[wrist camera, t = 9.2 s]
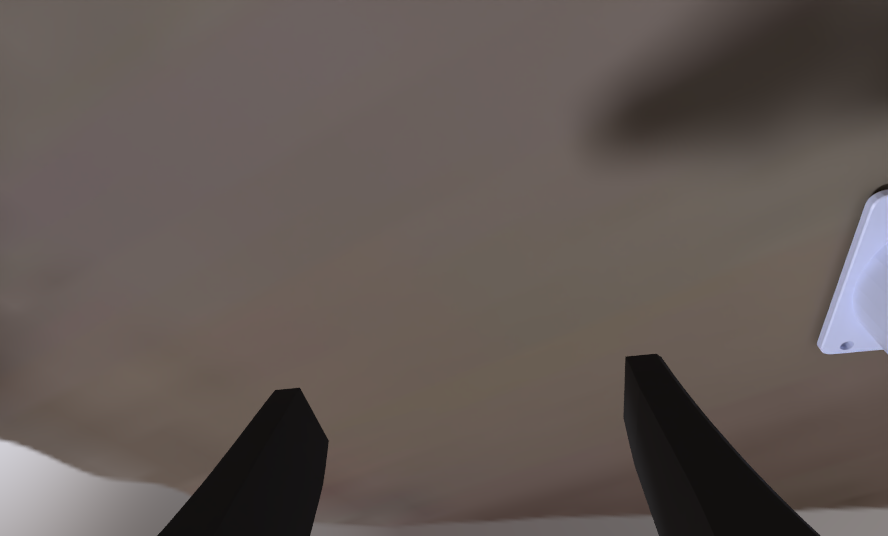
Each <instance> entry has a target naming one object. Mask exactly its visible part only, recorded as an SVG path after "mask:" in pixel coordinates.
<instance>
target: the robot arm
mask: <svg viewBox="0 0 888 536" xmlns="http://www.w3.org/2000/svg"><path fill="white" fill-rule="evenodd" d="M817 346H818V347H819V348H820V350H821V351H822V352H823V353H825V354H838V353H849V352H860V351H871V350H882V349H884V351H885V352H886V353H887V354H888V190H883V191H879V192H877V193H876V194H874V195H872V196H871V197H870V198H869V199H868V201H867V202H866V204H865V207H864V209H863V212H862V215H861V218H860V221H859V224H858V227H857V230H856V232H855V235H854V238H853V241H852V244H851V247H850V250H849V253H848V255H847V258H846V261H845V264H844V267H843V270H842V273H841V276H840V278H839V281H838V284H837V287H836V290H835V293H834V296H833V299H832V301H831V304H830V307H829V310H828V313H827V316H826V319H825V322H824V324H823V327H822V330H821V333H820V336H819V339H818V342H817ZM624 422H625V426H626V431H627V435H628V439H629V444H630V448H631V452H632V456H633V460H634V465H635V468H636V471H637V474H638V476H639V479H640V482H641V485H642V488H643V491H644V494H645V497H646V500H647V503H648V505H649V508H650V511H651V514H652V517H653V520H654V523H655V525H656V528H657V531H658V534H659V536H820V535H819V534H818V533H817V532H816V531H815V530H814V529H813V528H812V527H810V525H808V524H807V523H806V522H805V521H804V520H803V519H802V518H801V517H800V516H799V515H798V514H797V513H796V512H795V511H794V510H793V509H792V508H791V507H790V506H789V505H788V504H787V503H786V502H785V501H784V500H783V499H782V498H781V497H780V496H779V495H778V494H777V493H776V492H775V491H774V490H773V489H772V488H771V487H770V486H769V485H768V484H767V483H766V482H765V481H764V480H763V479H762V478H761V477H760V476H759V475H758V474H757V473H756V472H755V471H754V469H753V468H752V467H751V466H750V465H749V464H748V463H747V462H746V461H745V460H744V459H743V458H742V457H741V455H740V454H739V453H738V452H737V451H736V450H735V449H734V448H733V446H732V445H731V444H730V443H729V442H728V441H727V440H726V438H725V437H724V436H723V435H722V434H721V433H720V432H719V430H718V429H717V428H716V427H715V426H714V425H713V424H712V422H711V421H710V420H709V419H708V418H707V416H706V415H705V414H704V413H703V412H702V410H701V409H700V408H699V407H698V405H697V404H696V403H695V402H694V400H693V399H692V398H691V397H690V395H689V394H688V393H687V392H686V390H685V389H684V388H683V386H682V385H681V384H680V383H679V381H678V380H677V379H676V377H675V376H674V374H673V373H672V372H671V370H670V369H669V368H668V366H667V365H666V363H665V362H664V360H663V359H662V357H660V356H659V355H657V354H649V355H639V356H628V357H626V360H625V390H624ZM328 442H329V441H328V439H327V437H326V435H325V433H324V431H323V430H322V428H321V426H320V424H319V422H318V420H317V418H316V417H315V415H314V413H313V411H312V409H311V407H310V406H309V404H308V402H307V400H306V398H305V396H304V395H303V393H302V391H301V389H300V388H293V389H282V390H275V391H274V392H273V393H272V395H271V396H270V397H269V399H268V400H267V401H266V402H265V404H264V405H263V406H262V408H261V409H260V410H259V411H258V413H257V414H256V415H255V417H254V418H253V419H252V421H251V422H250V423H249V425H248V426H247V427H246V428H245V430H244V431H243V432H242V434H241V435H240V436H239V438H238V439H237V440H236V442H235V443H234V444H233V445H232V447H231V448H230V449H229V451H228V452H227V453H226V454H225V456H224V457H223V458H222V459H221V461H220V462H219V463H218V465H217V466H216V467H215V468H214V470H213V471H212V472H211V473H210V475H209V476H208V477H207V478H206V480H205V481H204V482H203V483H202V485H201V486H200V487H199V488H198V489H197V490H196V492H195V493H194V494H193V495H192V496H191V498H190V499H189V500H188V501H187V502H186V503H185V505H184V506H183V507H182V508H181V509H180V511H179V512H178V513H177V514H176V515H175V516H174V518H173V519H172V520H171V521H170V522H169V523H168V524H167V526H166V527H165V528H164V529H163V530H162V531H161V532H160V533H159V534H158V536H310V533H311V530H312V526H313V522H314V518H315V514H316V510H317V506H318V503H319V499H320V495H321V490H322V486H323V480H324V474H325V467H326V459H327V451H328Z"/></svg>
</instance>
